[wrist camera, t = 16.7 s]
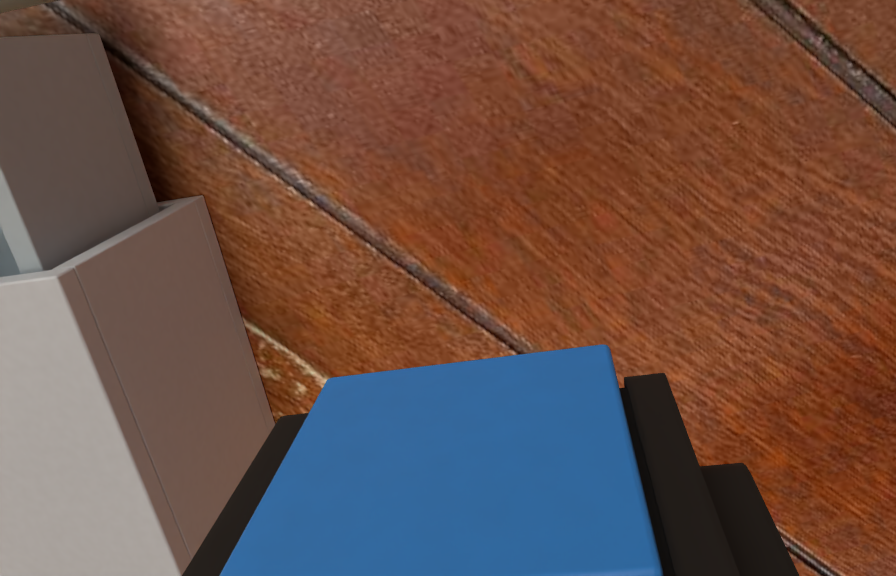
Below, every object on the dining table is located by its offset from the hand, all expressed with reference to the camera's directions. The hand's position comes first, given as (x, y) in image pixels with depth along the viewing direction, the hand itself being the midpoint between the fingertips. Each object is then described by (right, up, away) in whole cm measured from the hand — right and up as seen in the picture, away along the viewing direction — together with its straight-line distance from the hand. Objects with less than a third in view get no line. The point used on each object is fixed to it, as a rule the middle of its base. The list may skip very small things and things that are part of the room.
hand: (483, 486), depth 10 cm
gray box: (-15, -1, +21) cm, 26 cm away
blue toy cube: (0, 0, 0) cm, 0 cm away
